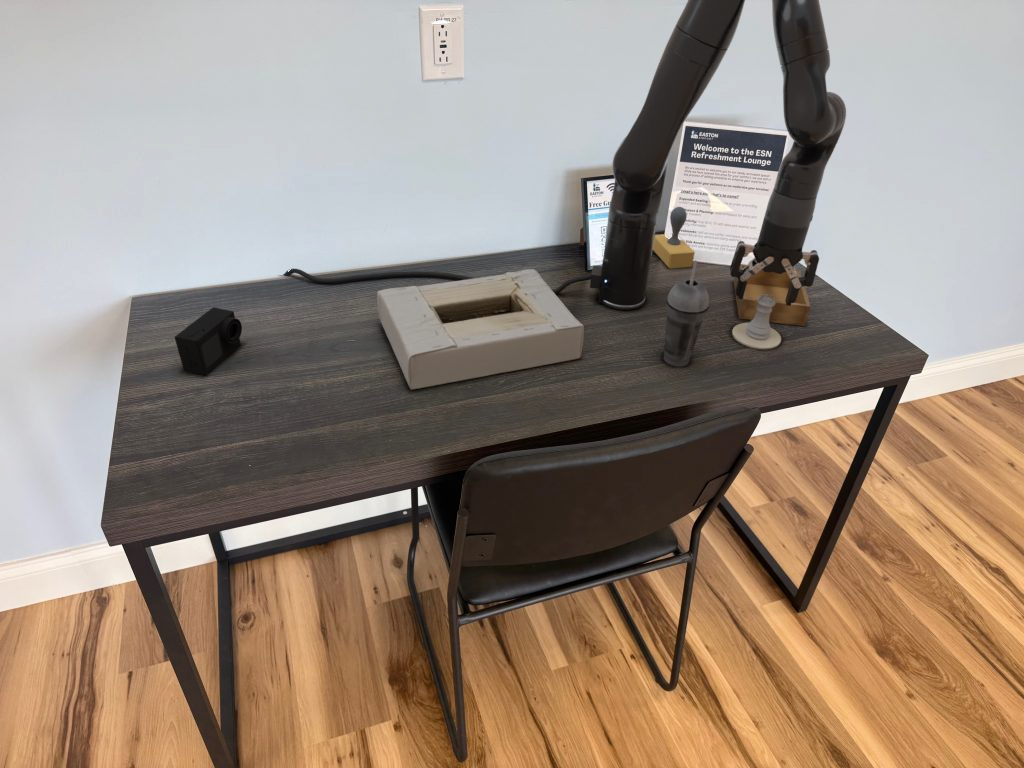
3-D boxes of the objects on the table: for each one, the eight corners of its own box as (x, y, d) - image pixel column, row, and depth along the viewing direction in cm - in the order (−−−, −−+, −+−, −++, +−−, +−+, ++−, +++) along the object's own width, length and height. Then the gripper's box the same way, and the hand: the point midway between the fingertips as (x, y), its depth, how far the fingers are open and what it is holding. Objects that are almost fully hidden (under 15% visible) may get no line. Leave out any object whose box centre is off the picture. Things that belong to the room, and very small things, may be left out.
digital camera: (211, 377, 122) (202, 342, 118) (183, 371, 123) (173, 336, 119) (247, 346, 130) (240, 311, 126) (220, 340, 132) (212, 306, 127)
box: (533, 298, 148) (377, 322, 138) (536, 264, 144) (374, 286, 133) (583, 360, 131) (409, 393, 121) (588, 324, 126) (407, 354, 116)
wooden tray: (738, 318, 144) (743, 298, 142) (733, 282, 157) (738, 263, 154) (804, 326, 142) (811, 306, 140) (794, 288, 155) (799, 270, 152)
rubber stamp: (651, 249, 169) (658, 199, 162) (674, 247, 170) (683, 197, 163) (668, 268, 161) (677, 217, 154) (692, 266, 162) (702, 215, 155)
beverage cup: (699, 353, 133) (721, 252, 122) (694, 374, 128) (716, 271, 116) (659, 345, 135) (677, 245, 123) (652, 365, 129) (670, 263, 118)
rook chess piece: (767, 343, 136) (778, 305, 132) (743, 337, 138) (752, 299, 133) (771, 331, 140) (781, 294, 135) (747, 326, 141) (757, 289, 136)
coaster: (733, 346, 136) (734, 344, 135) (730, 321, 143) (730, 320, 143) (783, 352, 135) (784, 350, 134) (777, 327, 142) (778, 325, 142)
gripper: (827, 214, 127) (801, 296, 136) (743, 203, 128) (723, 285, 138) (834, 231, 121) (806, 316, 130) (746, 220, 122) (724, 304, 132)
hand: (763, 300), depth 134 cm, fingers open, 8 cm apart
